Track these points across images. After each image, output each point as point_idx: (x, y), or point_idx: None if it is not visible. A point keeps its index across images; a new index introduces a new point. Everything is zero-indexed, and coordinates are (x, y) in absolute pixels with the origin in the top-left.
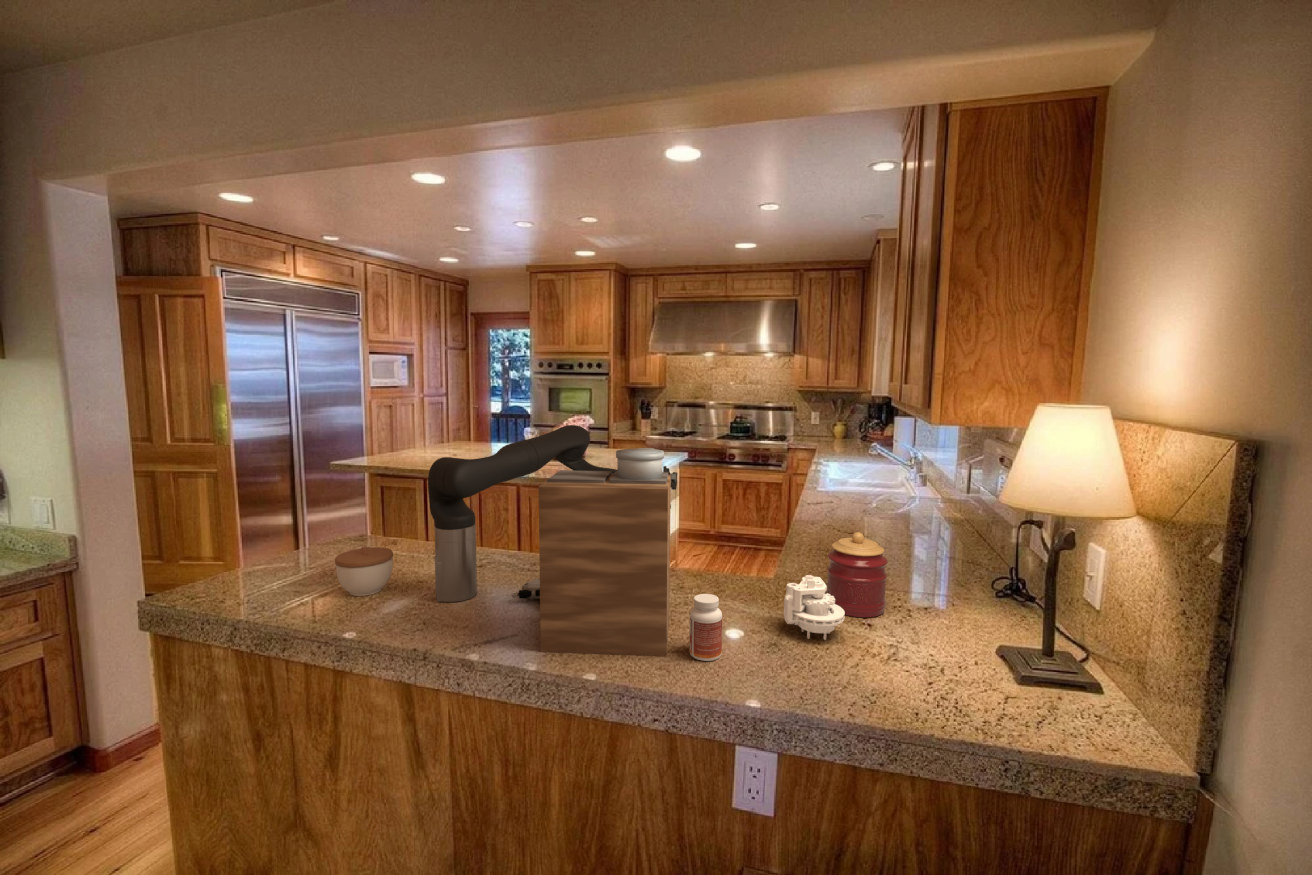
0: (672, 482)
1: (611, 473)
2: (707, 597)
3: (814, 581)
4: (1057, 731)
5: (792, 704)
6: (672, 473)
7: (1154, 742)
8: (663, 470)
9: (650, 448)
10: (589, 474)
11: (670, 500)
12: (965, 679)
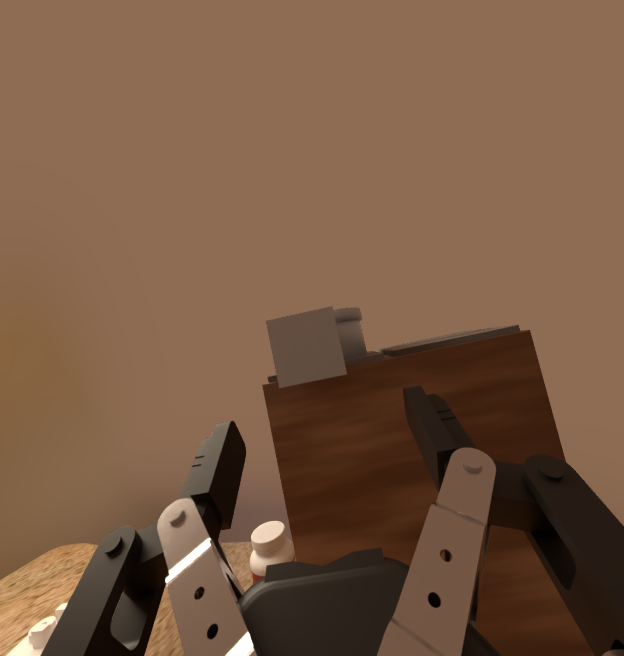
0: (163, 585)
1: (395, 355)
2: (265, 533)
3: (63, 604)
4: (71, 562)
5: (231, 549)
6: (136, 541)
7: (28, 564)
8: (239, 436)
9: (283, 318)
10: (422, 342)
11: (274, 444)
12: (29, 620)
